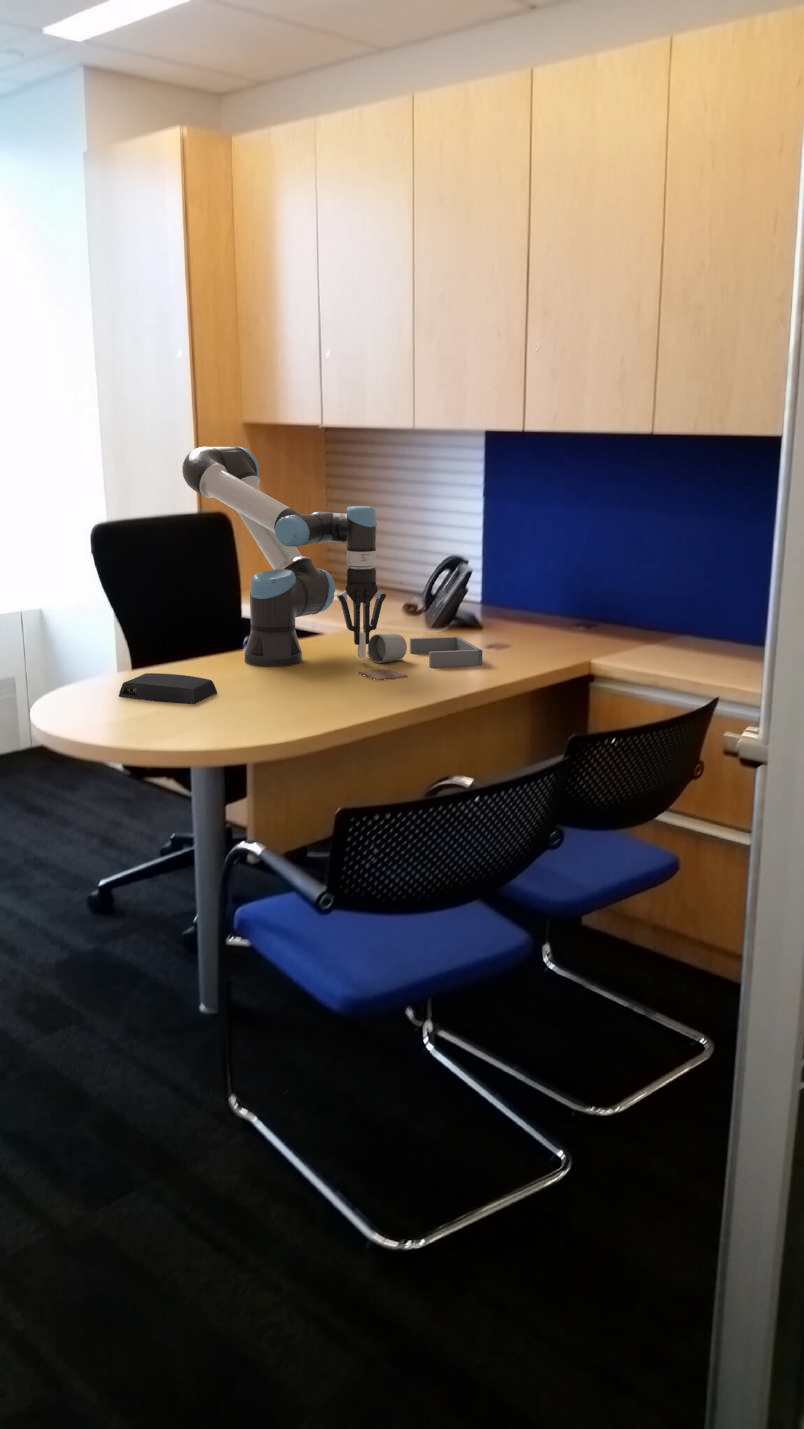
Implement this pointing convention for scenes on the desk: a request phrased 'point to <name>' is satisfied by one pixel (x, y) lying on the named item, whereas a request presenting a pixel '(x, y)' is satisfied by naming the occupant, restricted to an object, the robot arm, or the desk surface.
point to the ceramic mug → (386, 647)
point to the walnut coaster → (383, 674)
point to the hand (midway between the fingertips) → (361, 656)
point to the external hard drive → (168, 688)
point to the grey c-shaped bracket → (447, 651)
